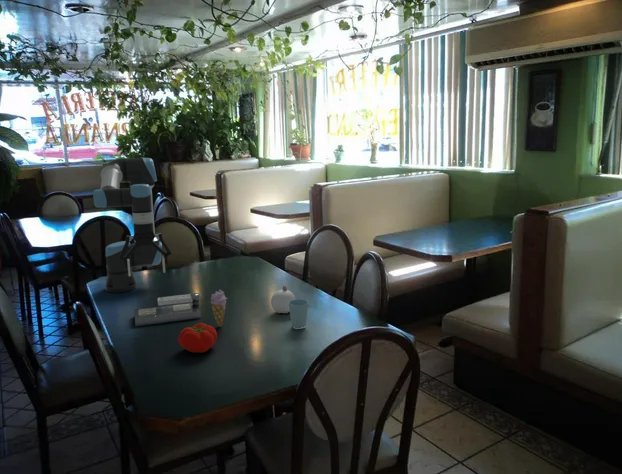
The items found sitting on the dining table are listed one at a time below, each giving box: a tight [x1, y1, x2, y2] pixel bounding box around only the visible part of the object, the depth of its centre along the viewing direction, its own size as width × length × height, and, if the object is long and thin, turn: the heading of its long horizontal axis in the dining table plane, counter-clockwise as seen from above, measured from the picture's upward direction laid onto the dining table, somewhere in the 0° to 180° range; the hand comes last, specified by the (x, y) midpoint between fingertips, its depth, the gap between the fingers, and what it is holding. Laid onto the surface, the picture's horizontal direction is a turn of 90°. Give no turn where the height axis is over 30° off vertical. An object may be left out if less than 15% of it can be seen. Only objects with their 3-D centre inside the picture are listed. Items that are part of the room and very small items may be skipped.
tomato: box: [177, 322, 218, 354], centre depth 177 cm, size 14×13×9 cm
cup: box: [289, 298, 309, 328], centre depth 198 cm, size 8×8×10 cm
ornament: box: [270, 285, 296, 314], centre depth 214 cm, size 10×10×12 cm
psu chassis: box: [134, 300, 202, 327], centre depth 211 cm, size 12×26×5 cm, turn 110°
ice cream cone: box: [210, 289, 229, 328], centre depth 199 cm, size 7×6×15 cm
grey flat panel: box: [156, 292, 201, 307], centre depth 214 cm, size 6×18×2 cm, turn 110°
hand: (147, 273), depth 206 cm, fingers open, 13 cm apart
